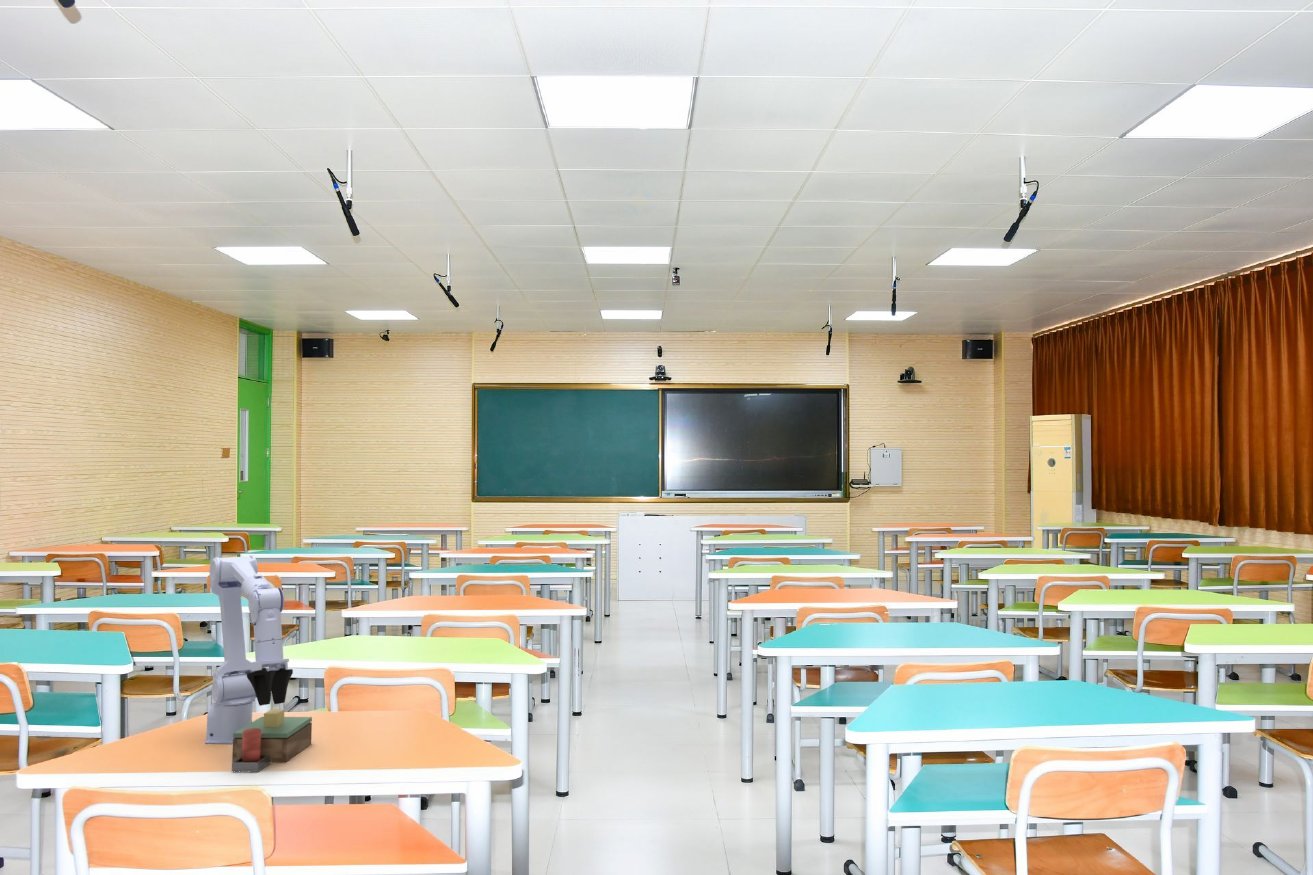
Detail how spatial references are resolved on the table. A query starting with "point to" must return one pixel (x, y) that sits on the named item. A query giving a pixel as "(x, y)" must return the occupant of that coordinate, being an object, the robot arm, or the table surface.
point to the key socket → (251, 764)
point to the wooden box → (279, 745)
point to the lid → (275, 725)
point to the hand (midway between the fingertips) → (272, 704)
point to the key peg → (251, 745)
